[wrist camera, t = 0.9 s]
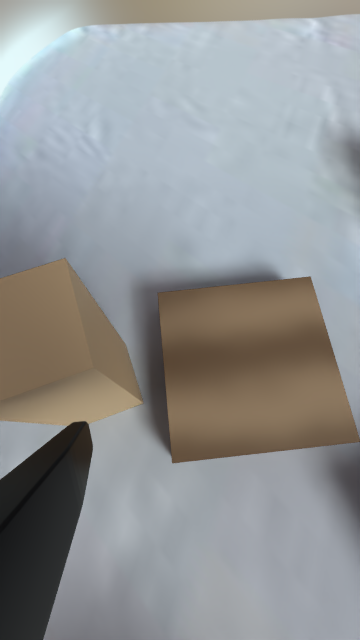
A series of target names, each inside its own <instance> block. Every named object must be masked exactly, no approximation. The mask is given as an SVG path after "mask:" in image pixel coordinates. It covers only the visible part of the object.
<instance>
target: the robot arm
mask: <svg viewBox="0 0 360 640" xmlns="http://www.w3.org/2000/svg"><path fill="white" fill-rule="evenodd" d="M92 451H93V444H92V439H91V434H90V429H89V425H88V423H87V422H86V421H79V422H72V423H71V424H70V425H68V426H67V427H66V428H65V429H63V430H62V431H61V432H60V433H58V434H57V435H56V436H55V437H53V438H52V439H51V440H50V441H48V442H47V443H46V444H45V445H43V446H42V447H41V448H40V449H38V450H37V451H36V452H35V453H33V454H32V455H31V456H30V457H28V458H27V459H26V460H25V461H23V462H22V463H21V464H20V465H18V466H17V467H16V468H15V469H13V470H12V471H11V472H10V473H8V474H7V475H6V476H4V477H3V478H2V479H1V480H0V640H43V638H44V635H45V631H46V628H47V625H48V621H49V618H50V614H51V611H52V608H53V604H54V601H55V597H56V594H57V591H58V587H59V584H60V580H61V577H62V574H63V570H64V567H65V563H66V560H67V557H68V553H69V550H70V546H71V543H72V540H73V536H74V533H75V529H76V526H77V523H78V519H79V516H80V512H81V509H82V505H83V500H84V495H85V490H86V485H87V479H88V474H89V468H90V463H91V457H92Z"/></svg>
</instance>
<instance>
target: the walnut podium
mask: <svg viewBox="0 0 360 640" xmlns="http://www.w3.org/2000/svg"><path fill="white" fill-rule="evenodd" d="M158 304H159V315H160V327H161V338H162V350H163V362H164V373H165V385H166V396H167V408H168V420H169V431H170V443H171V455H172V463H179V462H188V461H196V460H205V459H214V458H223V457H232V456H240V455H249V454H258V453H267V452H276V451H284V450H293V449H302V448H311V447H319V446H328V445H337V444H346V443H355V442H360V439H359V435H358V432H357V429H356V425H355V422H354V419H353V415H352V412H351V409H350V405H349V402H348V399H347V396H346V392H345V389H344V386H343V382H342V379H341V376H340V372H339V369H338V366H337V362H336V359H335V356H334V353H333V349H332V346H331V343H330V339H329V336H328V333H327V329H326V326H325V323H324V319H323V316H322V313H321V310H320V306H319V303H318V300H317V296H316V293H315V290H314V286H313V283H312V280H311V277H302V278H293V279H283V280H274V281H264V282H255V283H245V284H236V285H226V286H217V287H207V288H198V289H189V290H179V291H170V292H160V293H158Z"/></svg>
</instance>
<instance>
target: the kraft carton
mask: <svg viewBox="0 0 360 640" xmlns="http://www.w3.org/2000/svg"><path fill="white" fill-rule="evenodd" d="M143 403H144V402H143V399H142V396H141V393H140V389H139V386H138V383H137V380H136V376H135V373H134V370H133V367H132V363H131V360H130V357H129V354H128V350H127V347H126V344H125V343H124V342H123V340H122V339H121V337H120V336H119V334H118V333H117V332H116V330H115V329H114V327H113V326H112V324H111V323H110V321H109V320H108V319H107V317H106V316H105V314H104V313H103V311H102V310H101V309H100V307H99V306H98V304H97V303H96V301H95V300H94V298H93V297H92V296H91V294H90V293H89V291H88V290H87V288H86V287H85V286H84V284H83V283H82V281H81V280H80V278H79V277H78V275H77V274H76V273H75V271H74V270H73V268H72V267H71V265H70V264H69V263H68V261H67V260H66V258H64V259H61V260H58V261H54V262H51V263H48V264H45V265H42V266H38V267H35V268H32V269H29V270H26V271H22V272H19V273H16V274H13V275H10V276H7V277H3V278H0V421H13V422H26V423H39V424H52V425H65V426H68V425H70V424H71V423H72V422H79V421H86V422H87V423H88V424H89V423H92V422H95V421H98V420H100V419H103V418H106V417H108V416H111V415H114V414H116V413H119V412H122V411H124V410H127V409H130V408H132V407H135V406H138V405H140V404H143Z"/></svg>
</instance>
